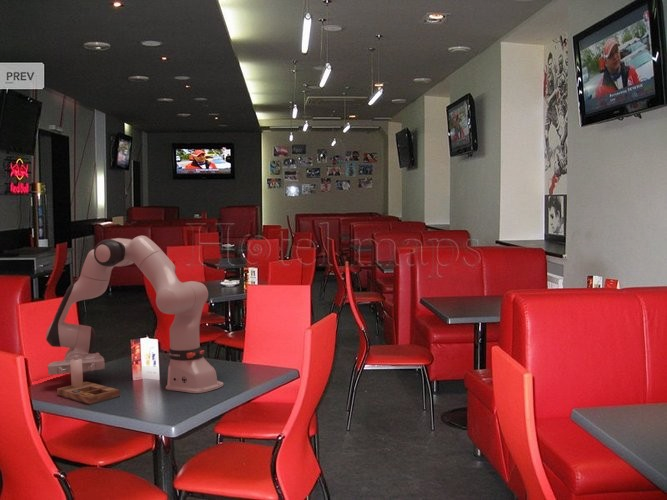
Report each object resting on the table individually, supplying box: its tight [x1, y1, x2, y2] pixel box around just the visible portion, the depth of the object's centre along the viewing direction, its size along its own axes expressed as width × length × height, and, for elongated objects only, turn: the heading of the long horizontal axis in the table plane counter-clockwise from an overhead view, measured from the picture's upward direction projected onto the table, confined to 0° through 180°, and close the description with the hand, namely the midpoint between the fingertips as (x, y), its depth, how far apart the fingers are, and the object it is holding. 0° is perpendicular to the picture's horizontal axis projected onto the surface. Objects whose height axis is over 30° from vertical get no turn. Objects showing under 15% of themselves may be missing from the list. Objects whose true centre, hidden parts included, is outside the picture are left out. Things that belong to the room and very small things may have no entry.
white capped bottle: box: [70, 355, 84, 388], centre depth 245 cm, size 4×4×12 cm
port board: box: [56, 381, 121, 406], centre depth 242 cm, size 21×12×3 cm, turn 52°
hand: (76, 370), depth 248 cm, fingers open, 8 cm apart
